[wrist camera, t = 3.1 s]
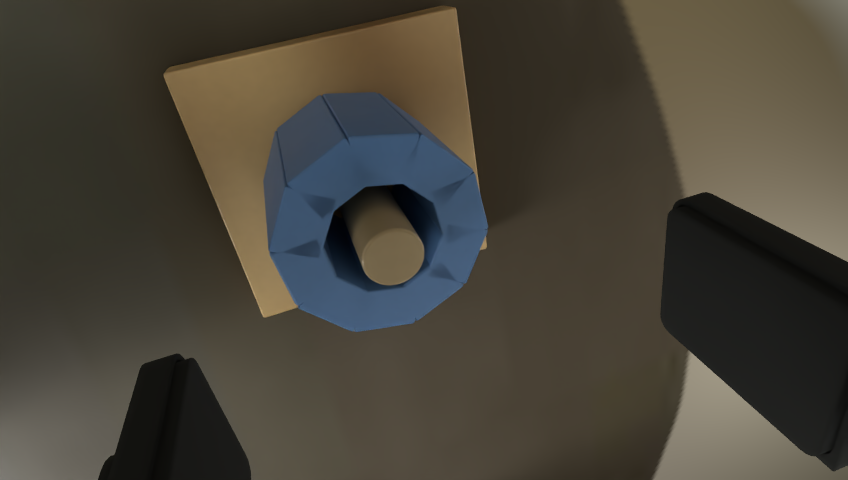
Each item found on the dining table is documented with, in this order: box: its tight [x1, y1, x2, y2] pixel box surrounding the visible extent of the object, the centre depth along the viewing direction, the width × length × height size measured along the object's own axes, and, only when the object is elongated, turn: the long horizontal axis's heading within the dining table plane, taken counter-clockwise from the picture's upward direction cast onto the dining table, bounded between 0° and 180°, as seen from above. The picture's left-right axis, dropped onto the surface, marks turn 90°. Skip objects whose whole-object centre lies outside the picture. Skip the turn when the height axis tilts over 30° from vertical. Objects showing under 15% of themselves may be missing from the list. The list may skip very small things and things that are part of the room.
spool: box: [263, 92, 488, 332], centre depth 16 cm, size 6×6×5 cm
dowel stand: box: [163, 5, 487, 318], centre depth 16 cm, size 9×9×7 cm
